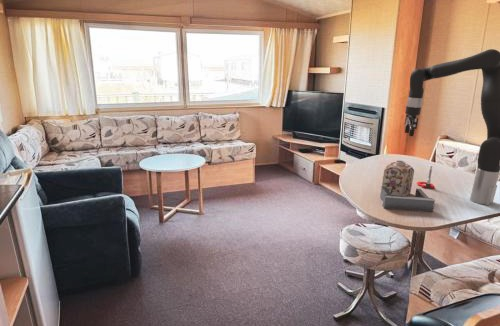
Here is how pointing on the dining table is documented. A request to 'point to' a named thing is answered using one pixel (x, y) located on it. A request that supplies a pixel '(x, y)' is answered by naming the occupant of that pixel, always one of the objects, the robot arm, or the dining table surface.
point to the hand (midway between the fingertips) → (408, 134)
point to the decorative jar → (398, 178)
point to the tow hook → (428, 184)
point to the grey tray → (407, 201)
